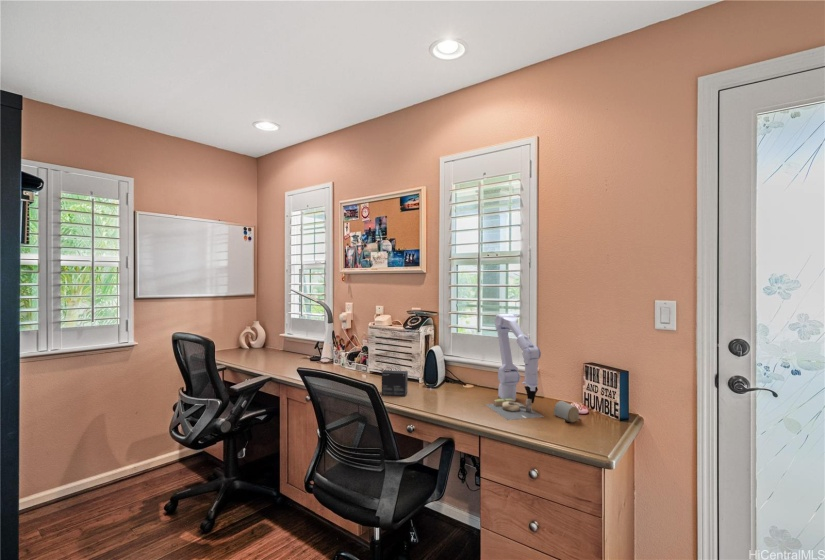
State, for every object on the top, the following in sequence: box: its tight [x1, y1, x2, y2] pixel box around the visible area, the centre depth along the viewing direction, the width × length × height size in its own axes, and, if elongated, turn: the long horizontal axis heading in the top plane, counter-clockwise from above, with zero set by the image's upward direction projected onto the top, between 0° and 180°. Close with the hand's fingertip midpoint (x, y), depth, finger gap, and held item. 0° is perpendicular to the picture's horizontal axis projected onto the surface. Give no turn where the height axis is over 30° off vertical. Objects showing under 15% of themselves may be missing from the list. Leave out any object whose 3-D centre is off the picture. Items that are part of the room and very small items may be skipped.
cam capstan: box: [502, 398, 533, 412], centre depth 185 cm, size 13×8×5 cm, turn 60°
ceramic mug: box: [553, 400, 581, 423], centre depth 177 cm, size 11×8×8 cm
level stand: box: [484, 398, 545, 421], centre depth 184 cm, size 22×18×4 cm
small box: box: [381, 369, 409, 397], centre depth 213 cm, size 13×7×12 cm, turn 82°
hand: (530, 402), depth 185 cm, fingers closed
